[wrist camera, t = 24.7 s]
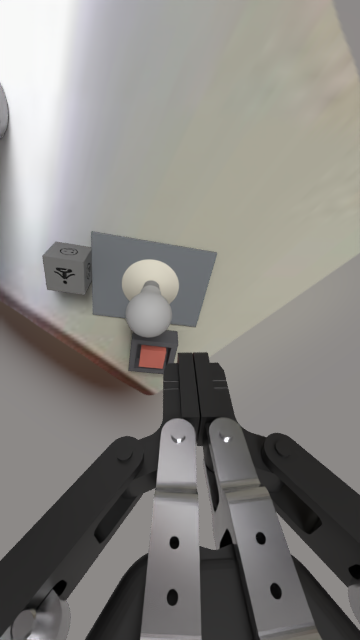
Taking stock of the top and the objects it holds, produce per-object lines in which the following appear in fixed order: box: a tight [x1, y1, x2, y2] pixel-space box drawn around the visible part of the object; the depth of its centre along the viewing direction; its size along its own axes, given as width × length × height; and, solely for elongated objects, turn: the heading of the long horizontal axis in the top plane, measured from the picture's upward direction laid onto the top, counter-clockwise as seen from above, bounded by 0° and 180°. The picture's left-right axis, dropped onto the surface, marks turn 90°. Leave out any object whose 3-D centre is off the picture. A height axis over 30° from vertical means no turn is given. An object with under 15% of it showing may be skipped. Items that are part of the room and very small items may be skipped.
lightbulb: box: [126, 280, 172, 338], centre depth 36 cm, size 6×6×11 cm
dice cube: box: [42, 242, 92, 295], centre depth 36 cm, size 5×5×5 cm
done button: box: [139, 345, 166, 369], centre depth 47 cm, size 4×4×2 cm
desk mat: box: [91, 231, 217, 327], centre depth 40 cm, size 18×14×1 cm
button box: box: [128, 330, 178, 374], centre depth 47 cm, size 8×8×4 cm
